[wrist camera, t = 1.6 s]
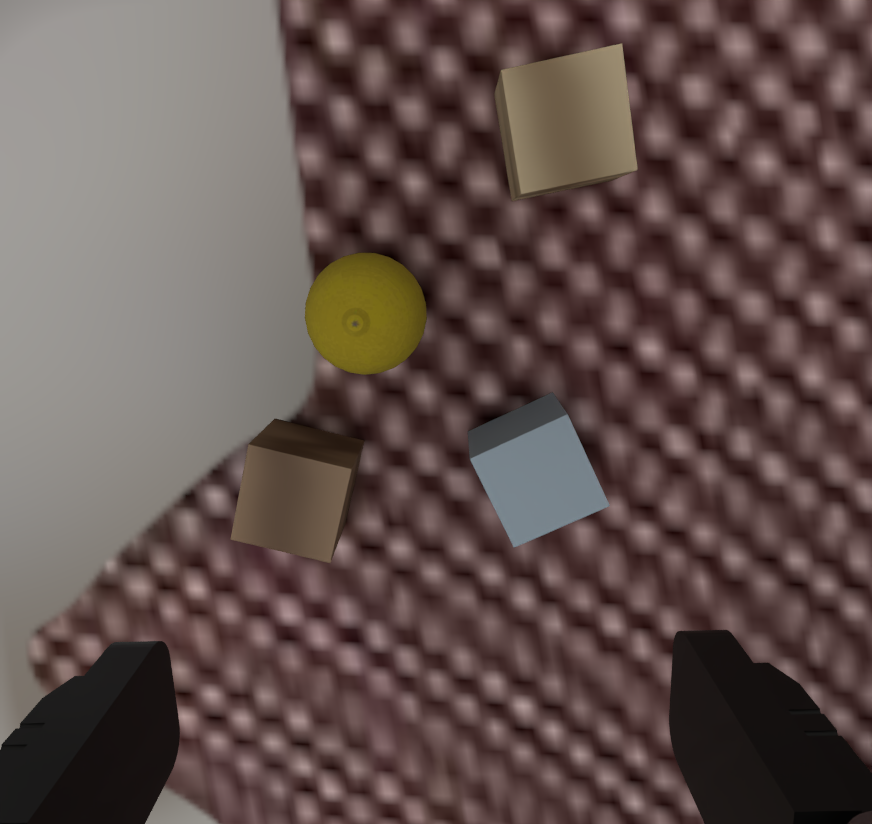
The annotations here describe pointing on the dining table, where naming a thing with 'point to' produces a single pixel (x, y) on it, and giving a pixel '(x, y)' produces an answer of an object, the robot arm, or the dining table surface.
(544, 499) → the block slate
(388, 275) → the lemon
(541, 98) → the block oak
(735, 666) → the robot arm
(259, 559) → the dining table surface
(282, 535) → the block walnut
